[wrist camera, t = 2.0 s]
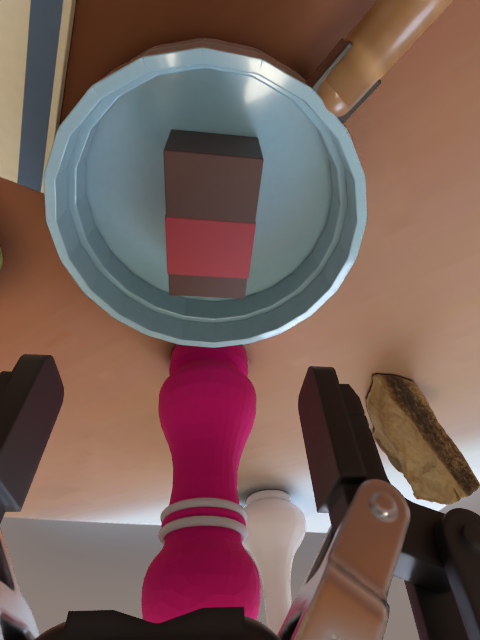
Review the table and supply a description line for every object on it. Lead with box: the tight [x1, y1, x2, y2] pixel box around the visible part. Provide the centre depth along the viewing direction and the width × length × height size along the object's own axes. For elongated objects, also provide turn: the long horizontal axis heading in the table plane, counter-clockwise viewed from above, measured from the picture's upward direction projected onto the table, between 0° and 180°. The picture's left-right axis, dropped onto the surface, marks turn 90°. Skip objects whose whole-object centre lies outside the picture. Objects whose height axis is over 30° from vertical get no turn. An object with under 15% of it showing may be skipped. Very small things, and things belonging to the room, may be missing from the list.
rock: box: [366, 374, 480, 505], centre depth 34 cm, size 11×9×10 cm
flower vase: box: [242, 490, 306, 635], centre depth 41 cm, size 13×18×25 cm
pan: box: [44, 38, 367, 348], centre depth 20 cm, size 15×16×4 cm
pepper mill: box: [142, 344, 261, 623], centre depth 23 cm, size 7×7×20 cm
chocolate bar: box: [163, 129, 264, 299], centre depth 20 cm, size 8×4×3 cm, turn 174°
